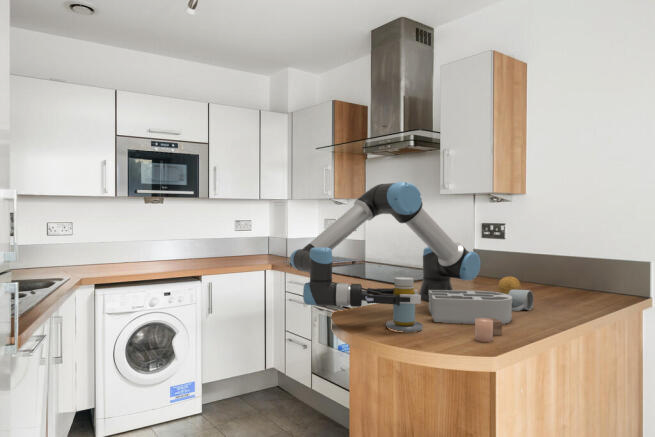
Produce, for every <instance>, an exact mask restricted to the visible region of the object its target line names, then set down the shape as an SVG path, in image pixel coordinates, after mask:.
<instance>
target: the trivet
mask: <svg viewBox="0 0 655 437" xmlns="http://www.w3.org/2000/svg"><path fill="white" fill-rule="evenodd" d="M386 326H387V327H388V328H390V329H393V330H397V331H403V332H415V331H420V330H422V329H423V330H424V324H422V323H421V322H419V321H416V320H415V323H414V324H413V325H411V326H400V325H396V324H395V323H394V322H393V319H392V320H388V321H386V322H385V327H386ZM423 330H422V331H423ZM420 332H421V331H420Z"/></svg>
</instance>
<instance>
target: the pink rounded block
mask: <svg viewBox="0 0 655 437" xmlns="http://www.w3.org/2000/svg"><path fill="white" fill-rule="evenodd" d="M493 337H494V336H493V320H492V319H488V318H476V319H475V324H474V340H475V341H477V342H481V343H492V342H493V341H494V338H493Z"/></svg>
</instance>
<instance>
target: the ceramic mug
mask: <svg viewBox="0 0 655 437" xmlns="http://www.w3.org/2000/svg"><path fill="white" fill-rule="evenodd" d="M507 295H510V296H512V311H513V312H519V311H522V310H524V311H531V310H532V308H533V306H534V294H533V291H532V290H531V289H521V290H510V291H509V292H508V294H507Z"/></svg>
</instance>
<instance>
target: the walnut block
mask: <svg viewBox="0 0 655 437" xmlns="http://www.w3.org/2000/svg"><path fill="white" fill-rule="evenodd" d="M488 319H492V320H493V337H494V336H502V335H503V328H502V327H503V324H502V321H500V320H498V319H496V318H488Z"/></svg>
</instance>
